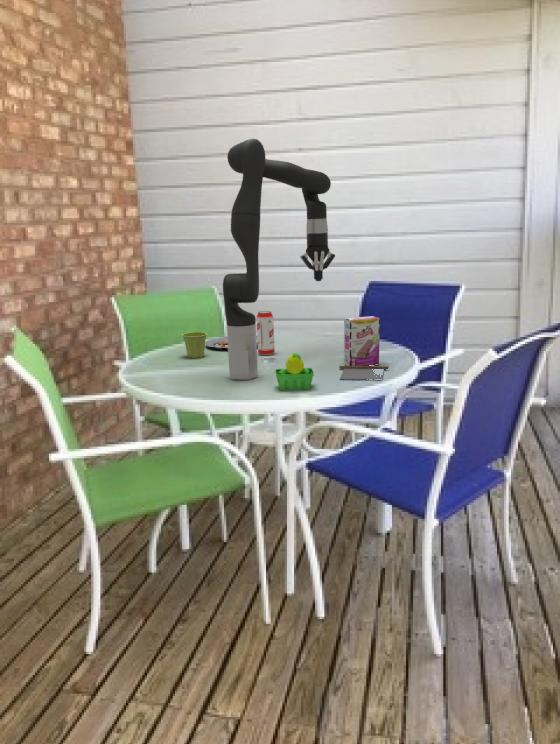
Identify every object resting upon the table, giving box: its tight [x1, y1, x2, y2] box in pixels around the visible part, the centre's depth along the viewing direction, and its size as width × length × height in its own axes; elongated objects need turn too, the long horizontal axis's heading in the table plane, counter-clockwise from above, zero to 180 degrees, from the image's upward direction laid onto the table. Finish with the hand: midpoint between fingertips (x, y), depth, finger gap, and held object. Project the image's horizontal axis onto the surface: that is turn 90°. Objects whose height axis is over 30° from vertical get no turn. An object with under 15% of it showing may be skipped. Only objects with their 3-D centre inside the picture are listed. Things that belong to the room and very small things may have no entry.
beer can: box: [256, 310, 275, 356], centre depth 243 cm, size 6×6×16 cm
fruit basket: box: [274, 352, 315, 391], centre depth 194 cm, size 11×9×11 cm
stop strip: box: [339, 365, 390, 371], centre depth 214 cm, size 1×16×1 cm, turn 79°
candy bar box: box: [343, 315, 381, 366], centre depth 219 cm, size 11×5×16 cm, turn 111°
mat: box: [339, 369, 384, 381], centre depth 208 cm, size 14×13×1 cm
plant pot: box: [181, 331, 208, 359], centre depth 244 cm, size 9×9×9 cm
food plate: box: [205, 335, 258, 350], centre depth 264 cm, size 25×23×4 cm
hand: (318, 280), depth 235 cm, fingers closed
